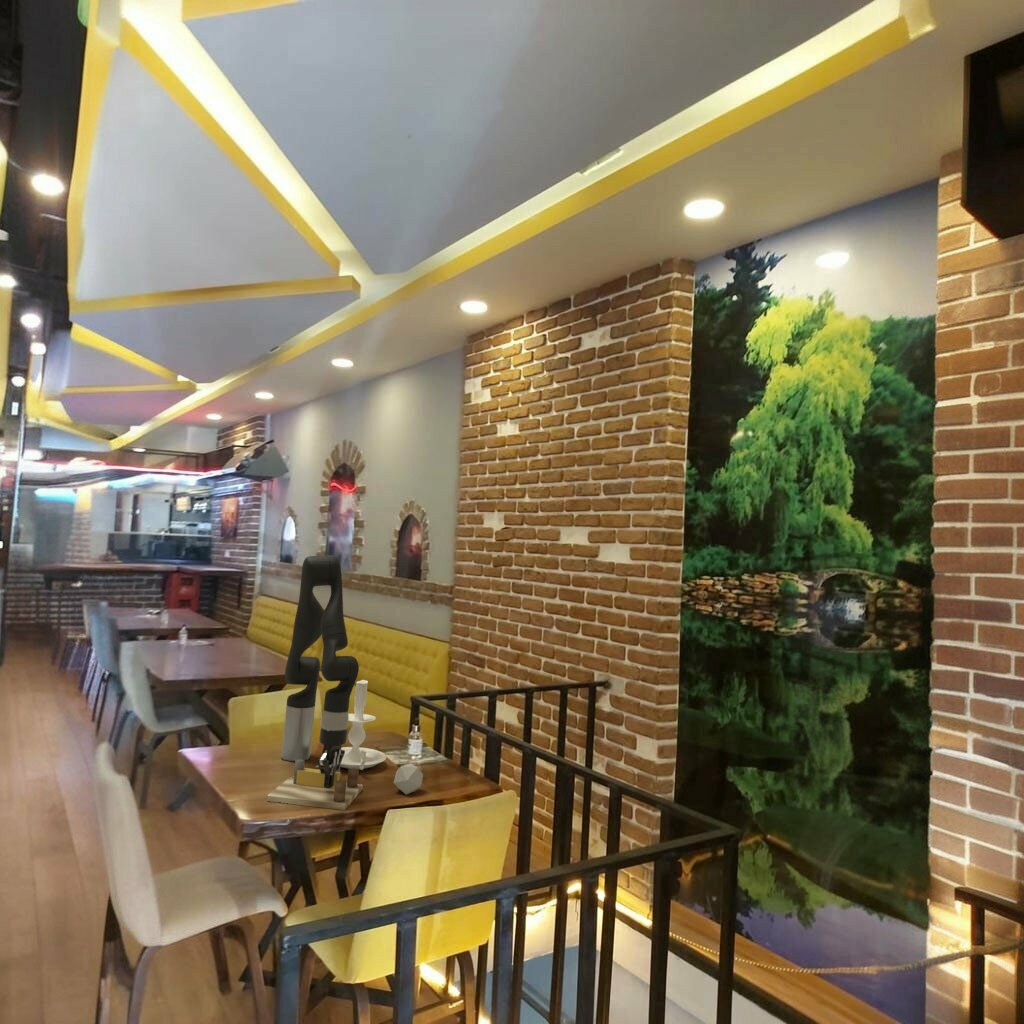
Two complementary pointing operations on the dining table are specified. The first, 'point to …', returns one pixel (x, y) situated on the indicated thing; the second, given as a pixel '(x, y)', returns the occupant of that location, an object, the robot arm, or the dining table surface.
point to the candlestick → (360, 734)
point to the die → (408, 778)
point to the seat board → (319, 793)
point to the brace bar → (310, 775)
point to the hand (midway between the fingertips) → (328, 787)
